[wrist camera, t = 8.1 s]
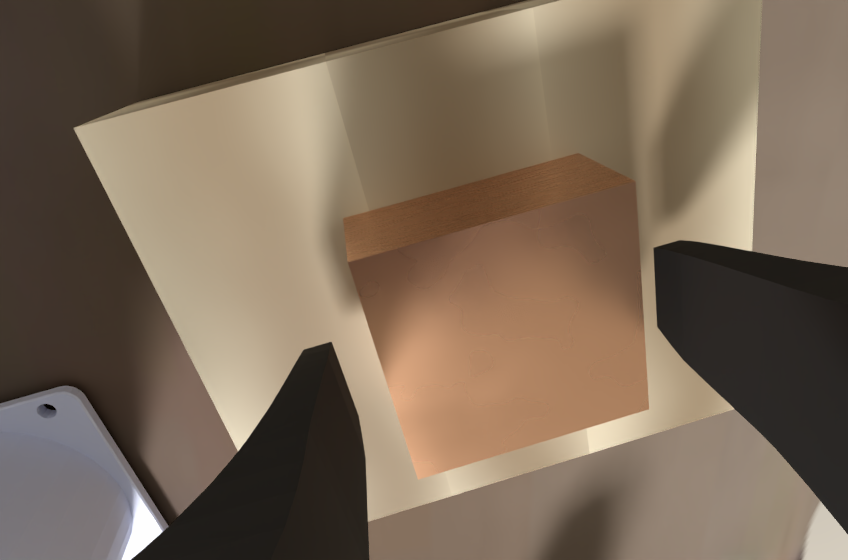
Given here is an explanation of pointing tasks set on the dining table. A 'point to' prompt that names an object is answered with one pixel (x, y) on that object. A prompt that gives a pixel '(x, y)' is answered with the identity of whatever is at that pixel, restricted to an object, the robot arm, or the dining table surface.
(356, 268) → the orange brown block
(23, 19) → the dining table surface
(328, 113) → the holder
